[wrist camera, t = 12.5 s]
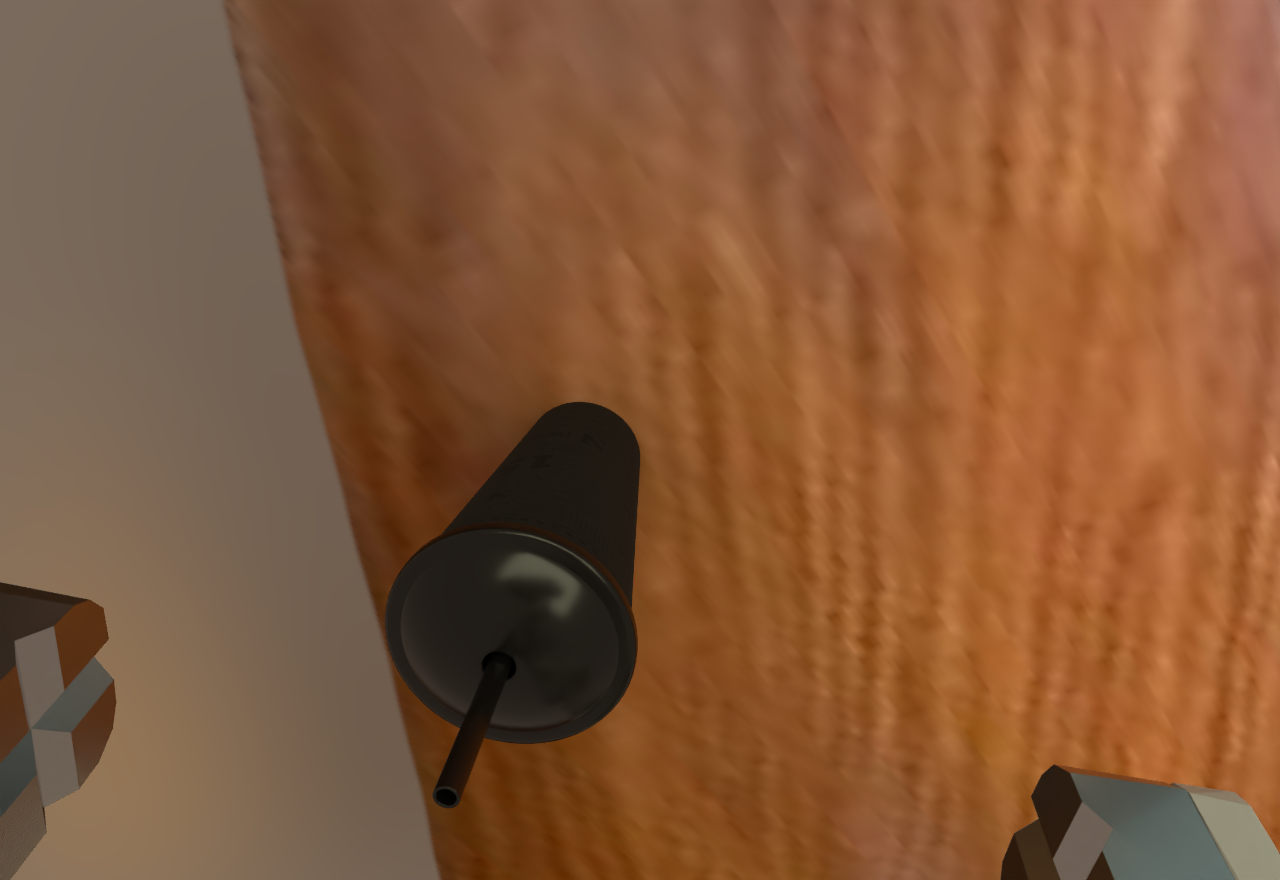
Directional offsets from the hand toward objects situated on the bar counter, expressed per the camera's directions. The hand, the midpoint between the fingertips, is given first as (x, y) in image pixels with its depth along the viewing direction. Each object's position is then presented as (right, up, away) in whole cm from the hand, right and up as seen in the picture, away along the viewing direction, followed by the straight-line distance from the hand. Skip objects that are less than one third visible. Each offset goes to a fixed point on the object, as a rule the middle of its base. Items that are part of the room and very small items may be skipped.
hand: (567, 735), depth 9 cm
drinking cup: (-2, +2, +34) cm, 34 cm away
